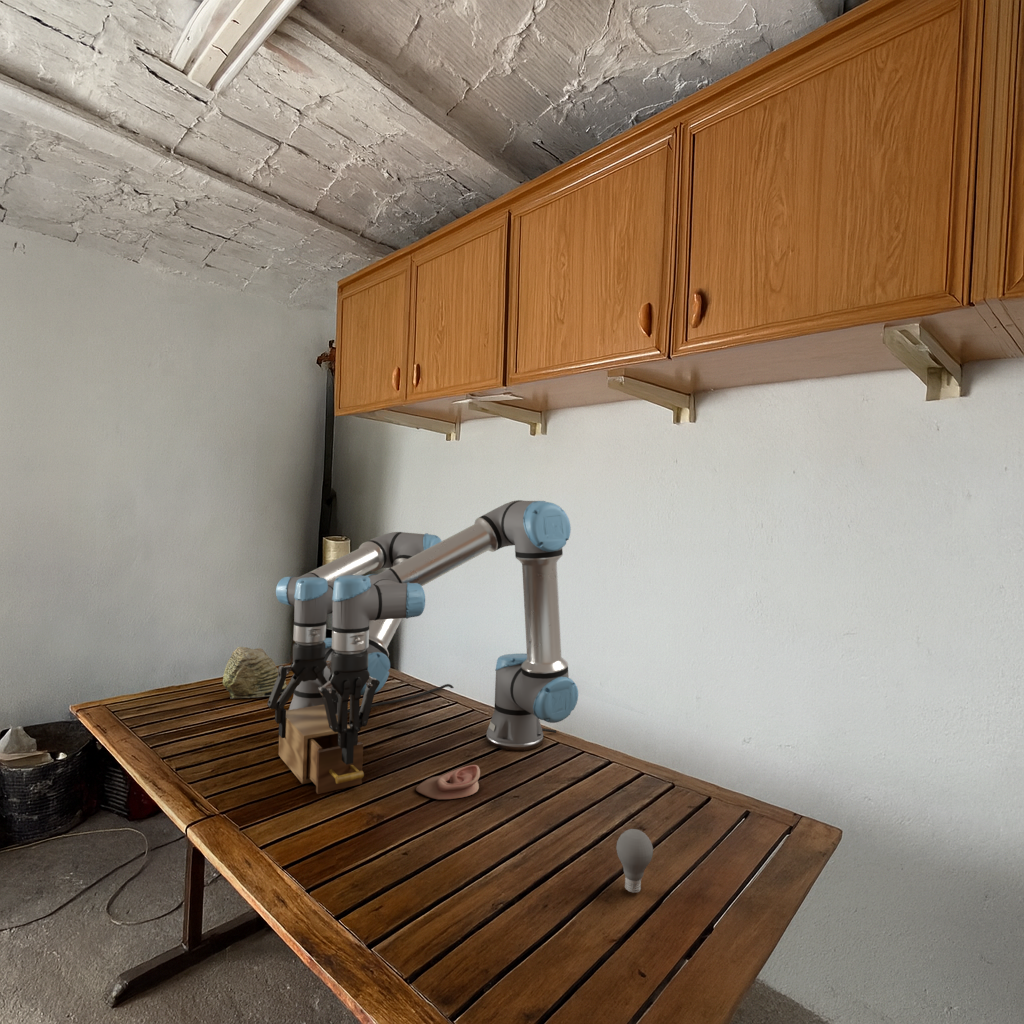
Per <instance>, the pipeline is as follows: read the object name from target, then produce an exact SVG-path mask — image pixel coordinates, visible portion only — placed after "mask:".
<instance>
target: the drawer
mask: <svg viewBox="0 0 1024 1024" xmlns="http://www.w3.org/2000/svg"><path fill="white" fill-rule="evenodd" d="M363 757H364V743H363V741H358V743H357V745H355V746H354V752H353V763H351V764H347V765H346V764H345V763H344V762H343V761H342V748H340V747H339V745H338V733H337V734H332V735H326V736H321V737H315V738H310V739H308V743H307V773H306V775H307V776H308V777H309V778H310V779H311V780H312V782H311V783H313V784H314V785H315V793H316V794H317V795H320V794H326V793H328V792H329V793H330V792H333V791H337V790H338V791H339V790H341V789H346V788H350V787H354V786H359V785H362V784H363V778H364V777H365V773H364V771H363V761H364V760H363Z"/></svg>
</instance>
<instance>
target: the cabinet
mask: <svg viewBox="0 0 1024 1024" xmlns="http://www.w3.org/2000/svg"><path fill="white" fill-rule="evenodd" d="M285 710H286V726H285V738H281V737H280V735H279V734H278V756H279V757H280V759H281V760H282V761H283V763H284V764H285V765H286V766H287V768H288V769H289V770H290V771H291V772H292V773H293V774H294V776H295V777H296V778H297V780H298V781H299V782H300V783H301V784H302V785H305V784H310V783H313V782H312V780H311V779H310V778H309V777H308V776H307V775H306V773H307V743H308V739H310V738H315V737H321V736H326V735H332V734H337V733H338V732H334V731H333V730H332V729H330V727H329V724H328V719H327V715H326V710H325V706H324V705H318V706H311V707H305V708H299V709H292V710H289V709H285ZM336 718H337V722H338V716H337V715H336ZM348 728H350V726H349V723H347V729H348Z"/></svg>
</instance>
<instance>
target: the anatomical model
mask: <svg viewBox="0 0 1024 1024" xmlns="http://www.w3.org/2000/svg"><path fill="white" fill-rule="evenodd" d="M480 776H481V769H480V767H479V765H477V764H470V765H466V766H463V767H462V766H461V767H459V768H457V769H453V770H451V771H450V772H447V773H444V774H442V775H436V776H432V777H429V778H427V779H426V780H424V781H422V782H420V783H419V784H418V785H417V786H416V787H415V791H416V792H417V793H419V794H421V795H423V796H425V797H428V798H431V799H434V800H453V799H454V800H455V799H460V798H466V797H469V796H471V795H474V794H476V793H477V792H478V791H479V788H480V784H479V779H480Z"/></svg>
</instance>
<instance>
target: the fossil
mask: <svg viewBox="0 0 1024 1024" xmlns="http://www.w3.org/2000/svg"><path fill="white" fill-rule="evenodd" d="M222 676H223V677H222V685H223V687H224V688H225V690H226V691H228V693H229V698H230V699H250V698H264V697H270V695H271V692H272V690H273V687H274V685H275V682H276V679H277V677H278V667H277V665H276V663H275V662H274V660H273V659H272V658H271V657H270V656H269V655H268V654H267V653H266V652H265V650H264V649H263V648H260V647H258V648H251V647H247V646H246V647H245V646H238V647H237V648H236V649H235V650H233V651H232V653H231V656H230V657H229V659H228V660H227V663H226V666H225V668H224V671H223V675H222ZM287 685H288V684H287V680H286V679H285V682H284V685H283V688H282V690H281V693H280V694H282V693H283V692H284V690H285V689H286V687H287Z"/></svg>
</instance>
